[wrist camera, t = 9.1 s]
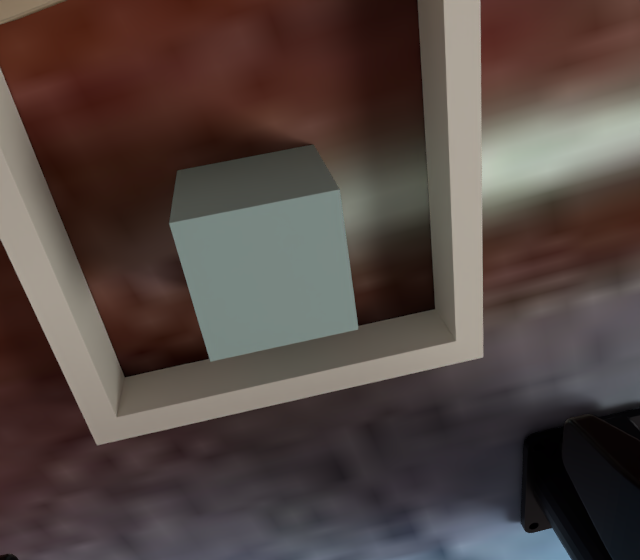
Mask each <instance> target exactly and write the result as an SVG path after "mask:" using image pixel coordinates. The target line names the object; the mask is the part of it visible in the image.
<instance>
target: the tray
mask: <svg viewBox="0 0 640 560" xmlns="http://www.w3.org/2000/svg"><path fill="white" fill-rule="evenodd" d="M417 1H418V18H419V36H420V53H421V71H422V88H423V106H424V123H425V141H426V158H427V176H428V193H429V211H430V228H431V246H432V263H433V281H434V298H435V309H433V310H429V311H424V312H420V313H415V314H411V315H406V316H402V317H397V318H393V319H388V320H384V321H379V322H374V323H370V324H365V325H361V326H358V330H354V331H349V332H344V333H340V334H335V335H331V336H326V337H322V338H317V339H312V340H308V341H303V342H299V343H294V344H289V345H285V346H280V347H276V348H271V349H266V350H262V351H257V352H253V353H248V354H244V355H239V356H234V357H230V358H225V359H221V360H216V361H211V362H210V359H206V360H202V361H197V362H193V363H188V364H184V365H179V366H175V367H170V368H165V369H161V370H156V371H152V372H147V373H143V374H138V375H134V376H129V377H124V374H123V372H122V369H121V367H120V364H119V362H118V359H117V357H116V354H115V352H114V349H113V347H112V344H111V342H110V339H109V337H108V334H107V332H106V329H105V327H104V324H103V322H102V320H101V317H100V315H99V312H98V310H97V307H96V305H95V302H94V300H93V297H92V295H91V292H90V290H89V287H88V285H87V282H86V280H85V277H84V275H83V272H82V270H81V267H80V265H79V262H78V260H77V257H76V255H75V252H74V250H73V247H72V245H71V242H70V240H69V238H68V235H67V233H66V230H65V228H64V225H63V223H62V220H61V218H60V215H59V213H58V210H57V208H56V205H55V203H54V200H53V198H52V195H51V193H50V190H49V188H48V185H47V183H46V180H45V178H44V175H43V173H42V170H41V168H40V165H39V163H38V160H37V158H36V156H35V153H34V151H33V148H32V146H31V143H30V141H29V138H28V136H27V133H26V131H25V128H24V126H23V123H22V121H21V118H20V116H19V113H18V111H17V108H16V106H15V103H14V101H13V98H12V96H11V93H10V91H9V88H8V86H7V83H6V81H5V78H4V76H3V74H2V71H1V69H0V239H1V241H2V244H3V246H4V248H5V250H6V252H7V254H8V256H9V259H10V261H11V263H12V265H13V267H14V269H15V271H16V273H17V276H18V278H19V280H20V282H21V284H22V286H23V288H24V291H25V293H26V295H27V297H28V299H29V301H30V303H31V306H32V308H33V310H34V312H35V314H36V316H37V318H38V321H39V323H40V325H41V327H42V329H43V331H44V333H45V335H46V338H47V340H48V342H49V344H50V346H51V348H52V350H53V353H54V355H55V357H56V359H57V361H58V363H59V365H60V368H61V370H62V372H63V374H64V376H65V378H66V380H67V382H68V385H69V387H70V389H71V391H72V393H73V395H74V397H75V400H76V402H77V404H78V406H79V408H80V410H81V412H82V415H83V417H84V419H85V421H86V423H87V425H88V427H89V429H90V432H91V434H92V436H93V438H94V440H95V442H96V444H97V445H101V444H105V443H110V442H114V441H118V440H123V439H127V438H132V437H136V436H140V435H145V434H149V433H153V432H158V431H162V430H167V429H171V428H175V427H180V426H184V425H189V424H193V423H197V422H202V421H206V420H211V419H215V418H219V417H224V416H228V415H232V414H237V413H241V412H246V411H250V410H254V409H259V408H263V407H268V406H272V405H276V404H281V403H285V402H290V401H294V400H298V399H303V398H307V397H311V396H316V395H320V394H325V393H329V392H333V391H338V390H342V389H347V388H351V387H355V386H360V385H364V384H369V383H373V382H377V381H382V380H386V379H390V378H395V377H399V376H404V375H408V374H412V373H417V372H421V371H426V370H430V369H434V368H439V367H443V366H447V365H452V364H456V363H461V362H465V361H469V360H474V359H478V358H483V270H482V149H481V28H480V0H417Z"/></svg>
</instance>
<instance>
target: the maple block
mask: <svg viewBox="0 0 640 560" xmlns="http://www.w3.org/2000/svg"><path fill="white" fill-rule="evenodd" d="M64 1H66V0H0V24H3V23H7V22H10V21H14V20H17V19H20V18H22V17H25V16H27V15H30V14H33V13H35V12H38V11H40V10H43V9H45V8H48V7H51V6H53V5H56V4H58V3H61V2H64Z"/></svg>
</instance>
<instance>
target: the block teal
mask: <svg viewBox="0 0 640 560" xmlns="http://www.w3.org/2000/svg"><path fill="white" fill-rule="evenodd" d="M169 225H170V228H171V231H172V235H173V238H174V241H175V245H176V248H177V251H178V255H179V258H180V262H181V265H182V268H183V272H184V275H185V278H186V282H187V285H188V288H189V292H190V295H191V298H192V302H193V305H194V309H195V312H196V315H197V319H198V322H199V325H200V329H201V332H202V335H203V339H204V342H205V346H206V349H207V352H208V356H209V359H210V362H211V361H216V360H221V359H225V358H230V357H234V356H239V355H244V354H248V353H253V352H257V351H262V350H266V349H271V348H276V347H280V346H285V345H289V344H294V343H299V342H303V341H308V340H312V339H317V338H322V337H326V336H331V335H335V334H340V333H344V332H349V331H354V330H358V322H357V314H356V307H355V299H354V292H353V284H352V277H351V269H350V262H349V255H348V247H347V240H346V232H345V225H344V217H343V210H342V202H341V195H340V189H339V187H338V186H337V184H336V182H335V180H334V179H333V177H332V175H331V174H330V172H329V170H328V168H327V167H326V165H325V163H324V162H323V160H322V158H321V156H320V155H319V153H318V151H317V150H316V148H315V146H314V145H308V146H303V147H298V148H292V149H287V150H282V151H277V152H271V153H266V154H261V155H256V156H251V157H245V158H240V159H235V160H230V161H225V162H219V163H214V164H209V165H204V166H198V167H193V168H188V169H183V170H178V171H177V175H176V182H175V188H174V195H173V201H172V208H171V214H170V221H169Z"/></svg>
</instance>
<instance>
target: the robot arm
mask: <svg viewBox="0 0 640 560" xmlns="http://www.w3.org/2000/svg"><path fill="white" fill-rule="evenodd" d="M521 525H522V526H523V528H524V530H525V531H526V532H528V533H534V532H538V531H542V530H546V529H549V528H553V530H554V532H555V533H556V535H557V536H558V538H559V540H560V541H561V543H562V545H563V546H564V548H565V550H566V551H567V553H568V555H569V556H570V558H571V559H572V560H640V408H638V409H634V410H630V411H626V412H622V413H617V414H613V415H609V416H605V417H601V418H598V417H596V416H594V415H590V414H585V415H581V416H577V417H572V418H569V419H567V420H566V422H565V424H564V426H563V427H559V428H555V429H551V430H546V431H542V432H538V433H534V434H532V435H530V436H528V437H527V438H526V439H525V441H524V448H523V474H522V500H521ZM0 560H18V558H17V557H16V556H15V555H13V554H5V555H1V556H0Z"/></svg>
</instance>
